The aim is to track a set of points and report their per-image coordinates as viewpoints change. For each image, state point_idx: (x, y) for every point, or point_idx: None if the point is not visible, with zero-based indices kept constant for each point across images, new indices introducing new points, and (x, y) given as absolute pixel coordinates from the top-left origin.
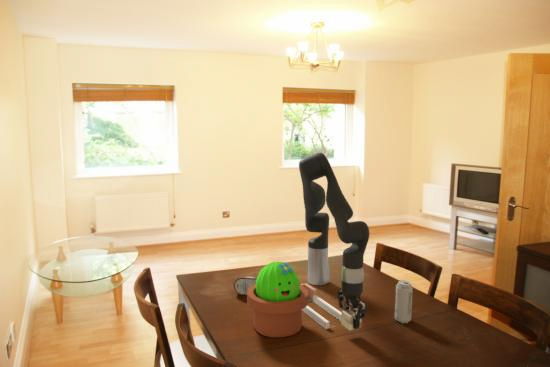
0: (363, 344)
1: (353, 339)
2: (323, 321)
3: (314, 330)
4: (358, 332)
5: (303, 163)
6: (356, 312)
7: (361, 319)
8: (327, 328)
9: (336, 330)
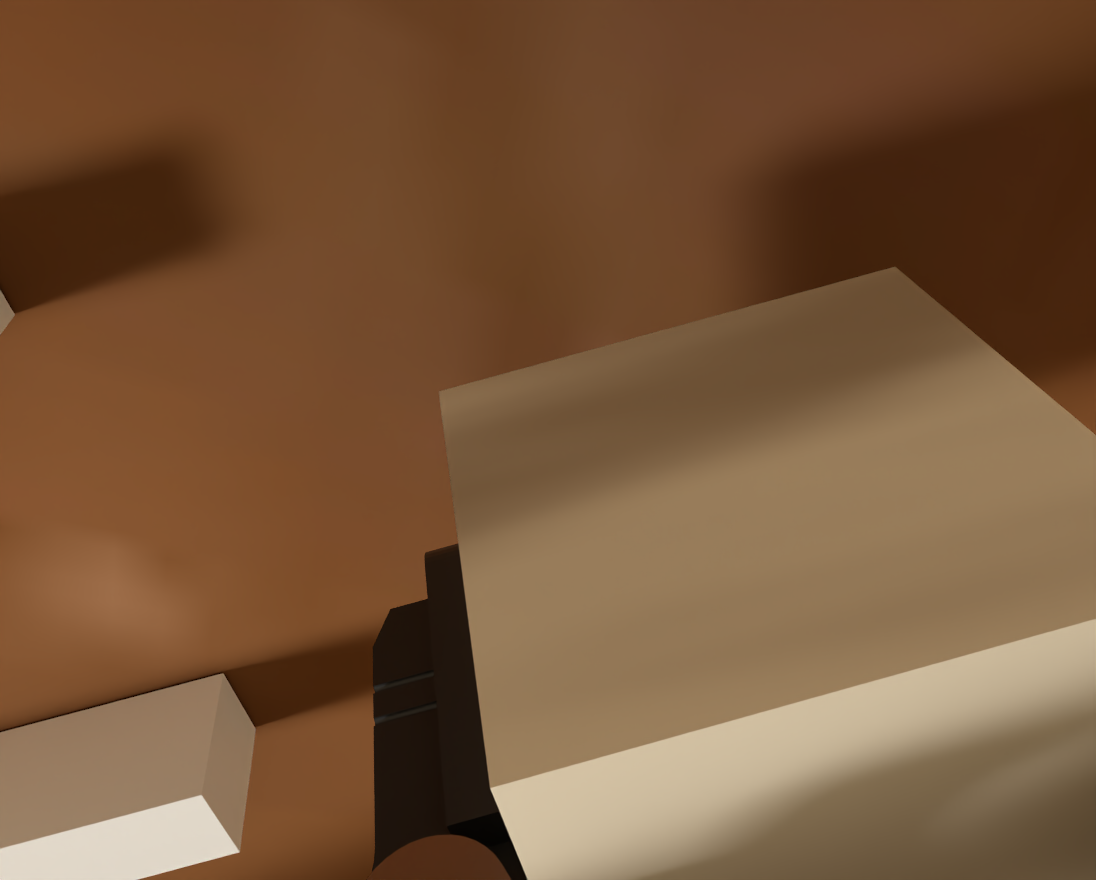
0: (1065, 240)
1: None
2: (139, 862)
3: (284, 872)
4: (528, 127)
5: None
6: (987, 741)
7: (1059, 411)
8: (239, 708)
9: (334, 573)
